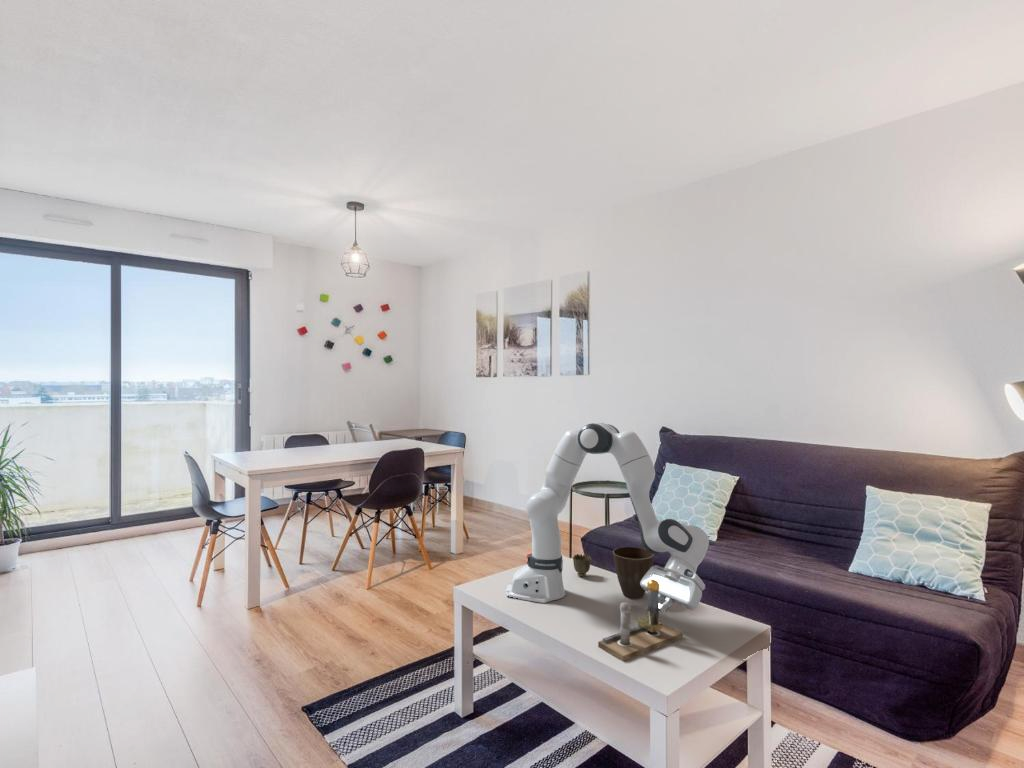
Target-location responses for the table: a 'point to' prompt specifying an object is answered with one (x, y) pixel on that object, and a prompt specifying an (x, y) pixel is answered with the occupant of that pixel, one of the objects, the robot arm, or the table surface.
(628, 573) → the plant pot
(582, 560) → the cup
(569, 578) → the table surface
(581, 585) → the table surface
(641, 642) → the wooden peg board
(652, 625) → the sliding leg
